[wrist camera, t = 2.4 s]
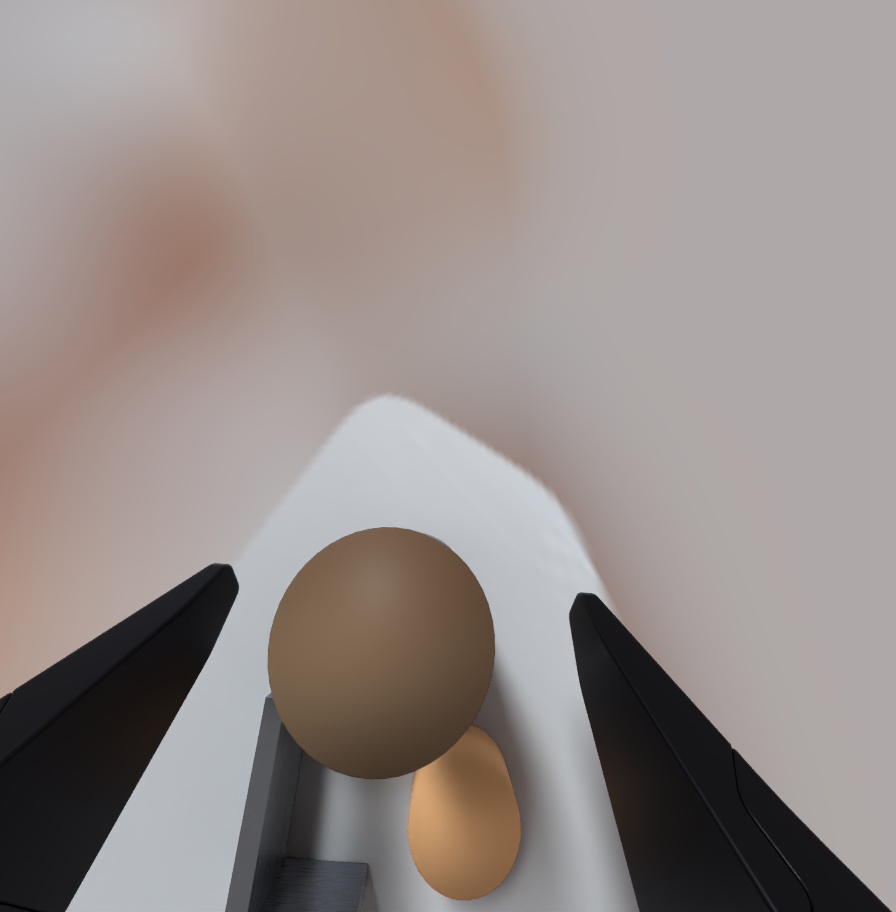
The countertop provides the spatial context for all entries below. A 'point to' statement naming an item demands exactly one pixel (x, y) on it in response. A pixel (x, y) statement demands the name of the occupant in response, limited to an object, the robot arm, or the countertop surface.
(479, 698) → the ball
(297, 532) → the countertop surface
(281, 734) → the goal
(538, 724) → the countertop surface
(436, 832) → the tan rounded block
